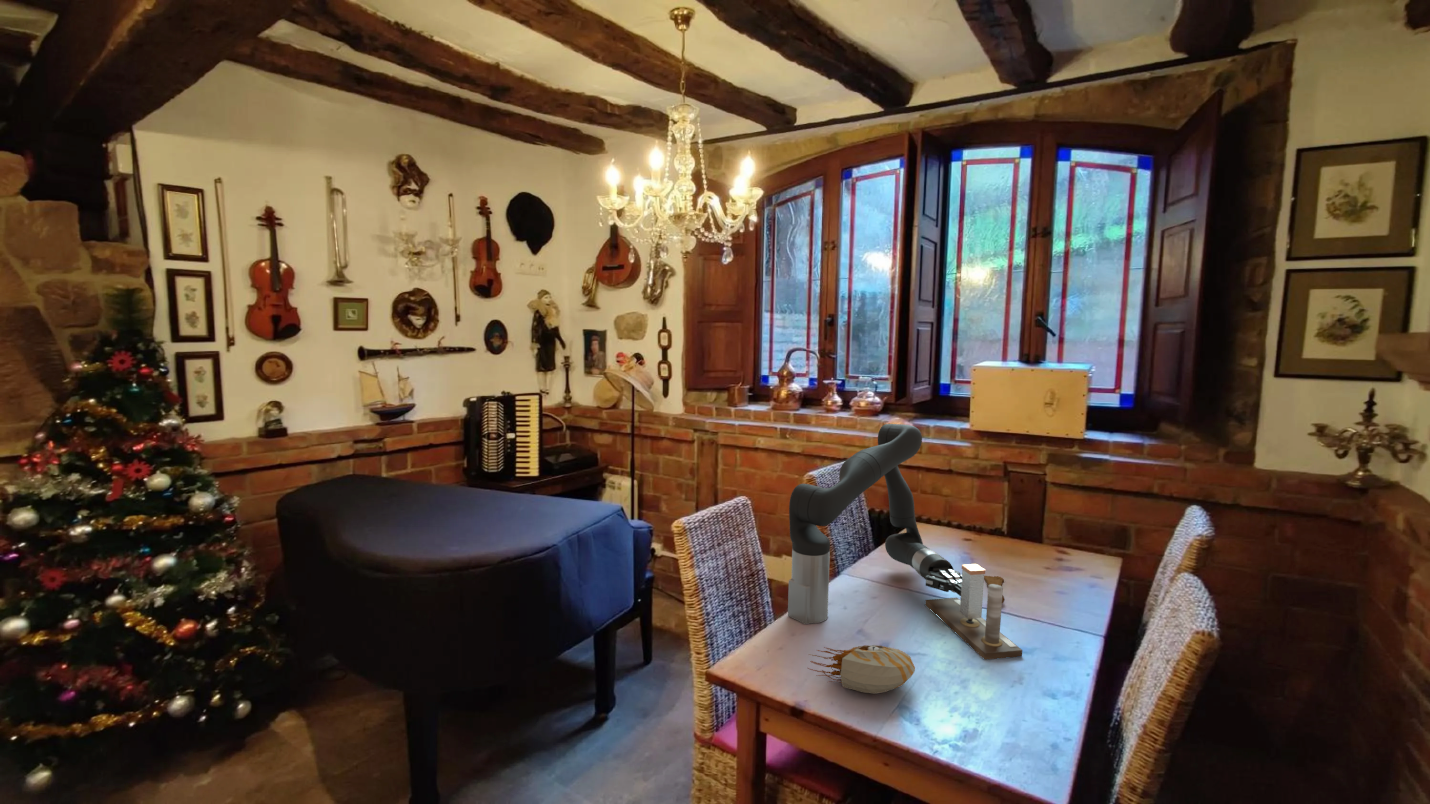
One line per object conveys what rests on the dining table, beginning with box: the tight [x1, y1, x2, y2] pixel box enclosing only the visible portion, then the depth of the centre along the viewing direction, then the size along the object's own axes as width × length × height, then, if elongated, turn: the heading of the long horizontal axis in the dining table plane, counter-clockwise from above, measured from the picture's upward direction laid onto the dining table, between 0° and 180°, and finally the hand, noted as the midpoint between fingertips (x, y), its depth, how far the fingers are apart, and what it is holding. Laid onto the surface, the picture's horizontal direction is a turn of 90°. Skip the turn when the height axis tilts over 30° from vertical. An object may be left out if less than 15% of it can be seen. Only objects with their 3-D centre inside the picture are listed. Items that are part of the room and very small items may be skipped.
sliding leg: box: [960, 563, 986, 622], centre depth 153 cm, size 4×4×13 cm
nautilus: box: [807, 644, 916, 694], centre depth 131 cm, size 8×22×15 cm
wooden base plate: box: [924, 584, 1023, 661], centre depth 153 cm, size 27×9×14 cm, turn 10°
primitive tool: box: [984, 575, 1005, 604], centre depth 176 cm, size 19×6×4 cm, turn 162°
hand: (967, 594), depth 155 cm, fingers closed
